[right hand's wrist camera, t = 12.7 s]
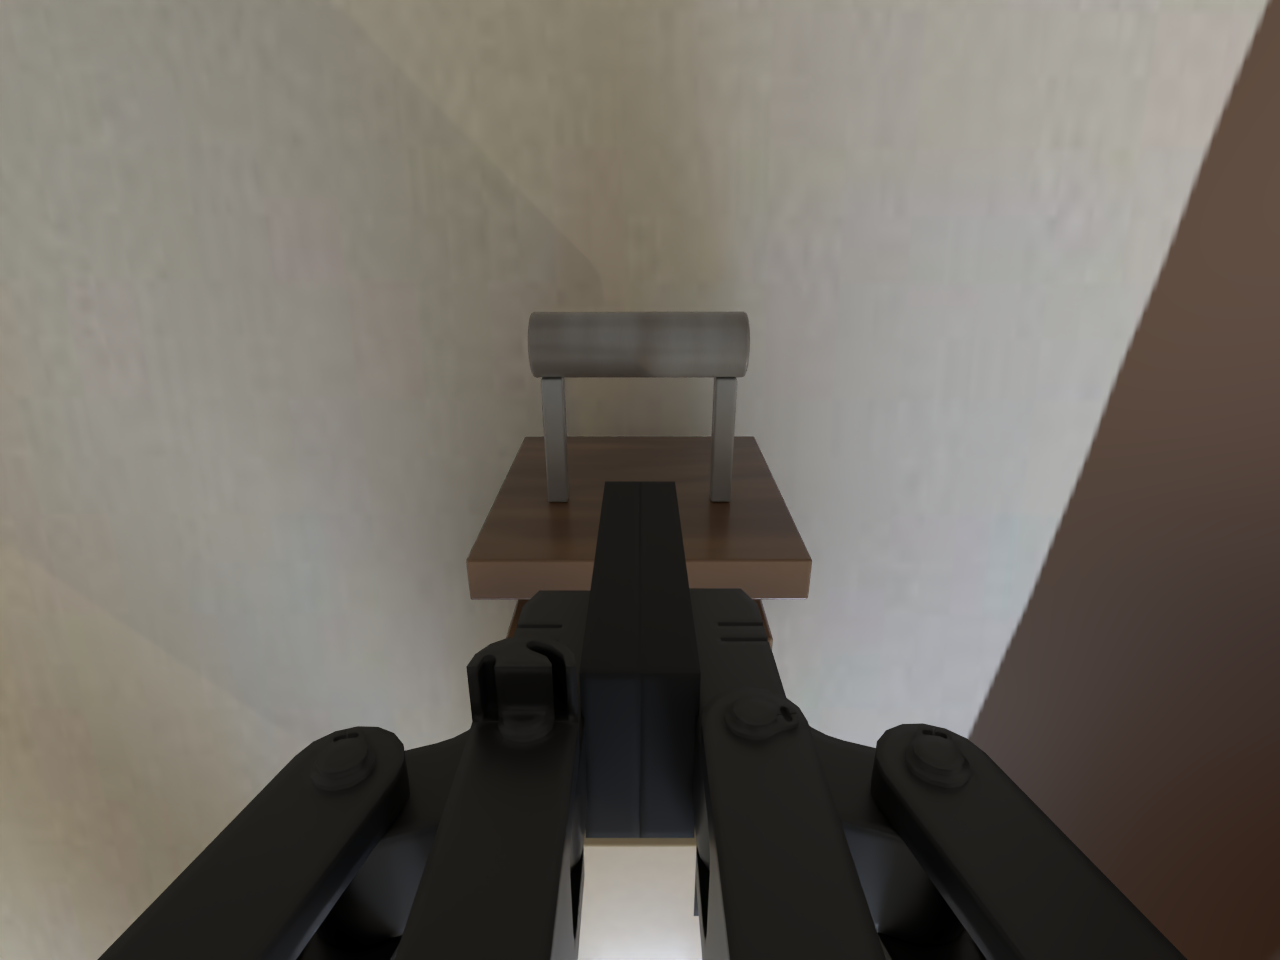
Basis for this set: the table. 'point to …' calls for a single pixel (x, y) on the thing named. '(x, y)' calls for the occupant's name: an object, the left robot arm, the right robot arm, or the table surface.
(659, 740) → the right robot arm
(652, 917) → the cabinet
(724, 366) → the drawer
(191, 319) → the table surface
